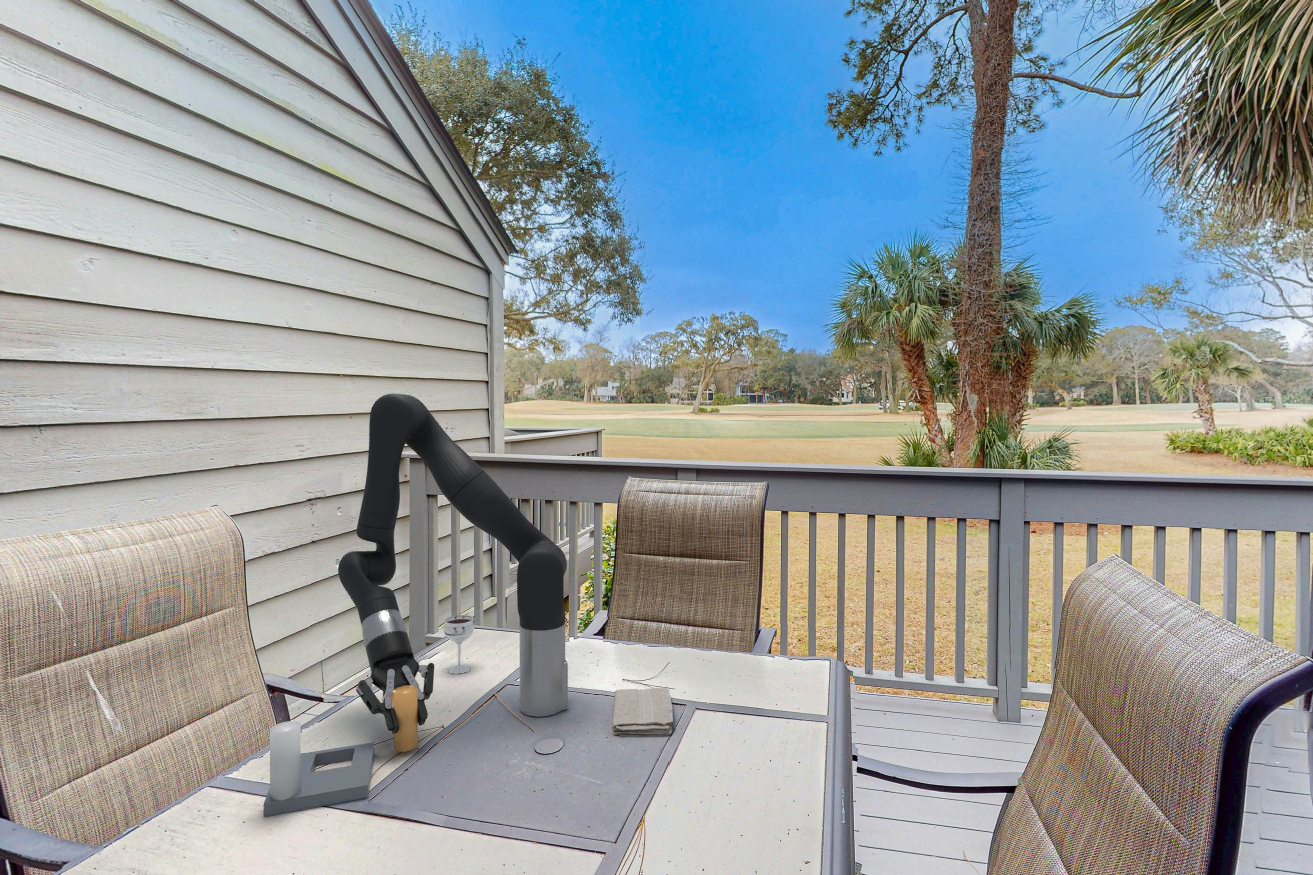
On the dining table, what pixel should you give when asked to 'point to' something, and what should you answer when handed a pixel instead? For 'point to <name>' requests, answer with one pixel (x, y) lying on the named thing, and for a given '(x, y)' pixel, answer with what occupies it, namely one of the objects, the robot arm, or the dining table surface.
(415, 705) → the orange cylinder
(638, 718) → the washcloth
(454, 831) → the dining table surface
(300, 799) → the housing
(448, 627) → the wineglass
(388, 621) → the robot arm
